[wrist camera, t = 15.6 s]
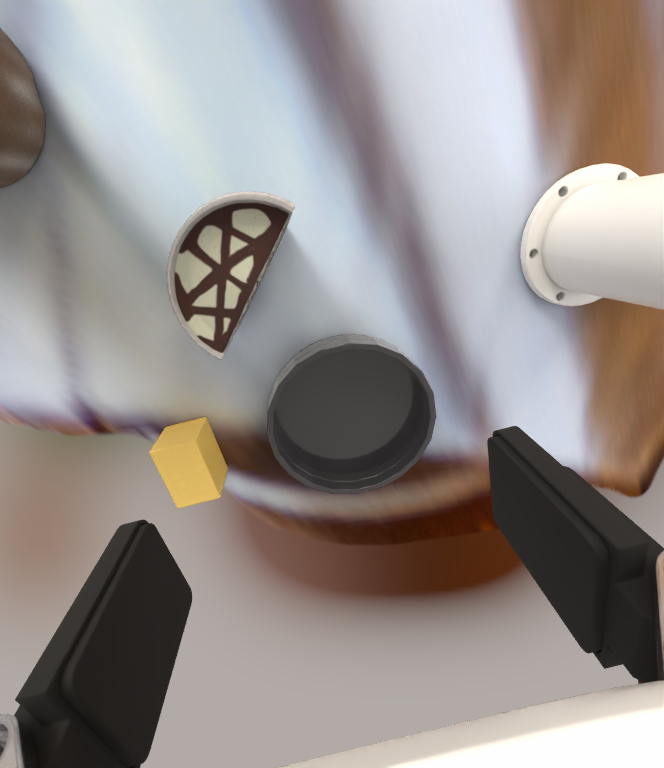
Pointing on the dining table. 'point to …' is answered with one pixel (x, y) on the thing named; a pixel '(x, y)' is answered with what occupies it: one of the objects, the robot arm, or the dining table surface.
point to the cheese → (190, 462)
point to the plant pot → (18, 115)
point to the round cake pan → (350, 414)
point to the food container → (223, 263)
